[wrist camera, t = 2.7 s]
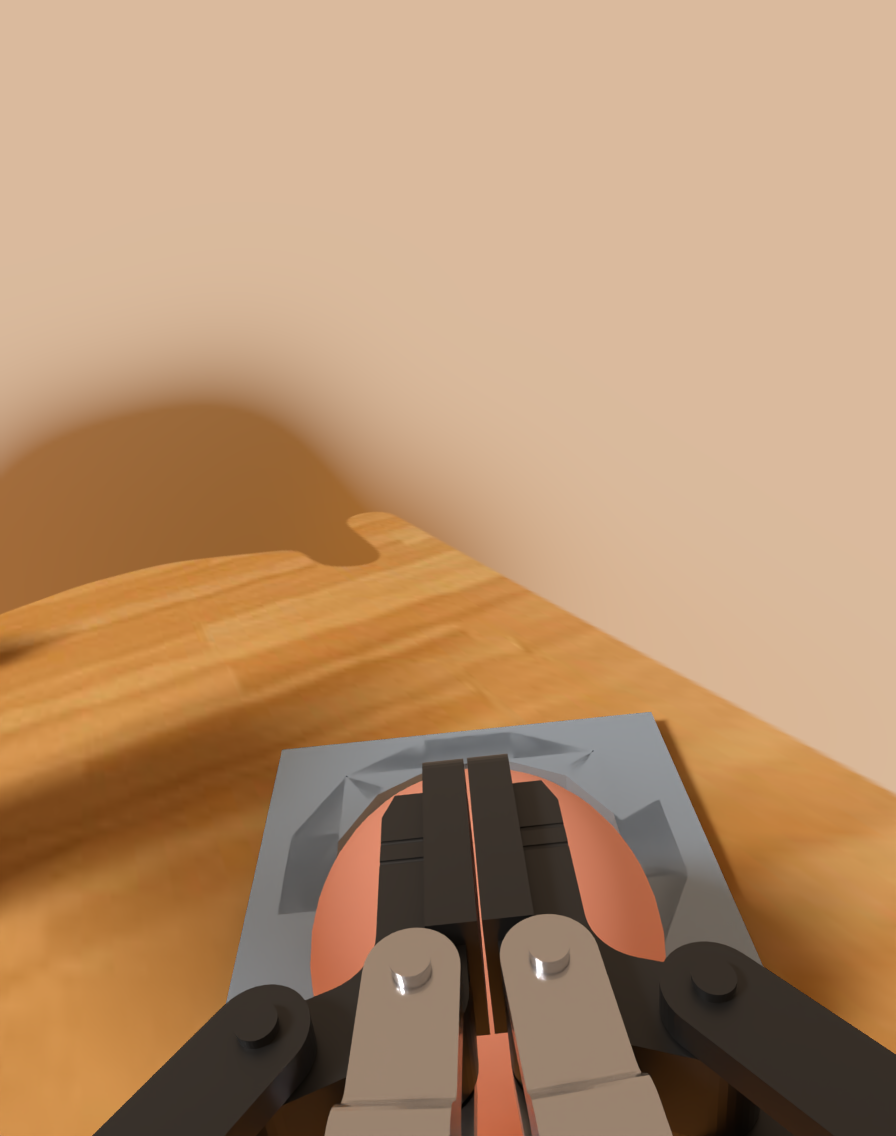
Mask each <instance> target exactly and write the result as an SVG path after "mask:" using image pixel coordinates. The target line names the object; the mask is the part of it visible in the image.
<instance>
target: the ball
mask: <svg viewBox="0 0 896 1136" xmlns="http://www.w3.org/2000/svg"><path fill="white" fill-rule="evenodd" d="M510 771H511V777H512V783H518V782H528V781H537V780H542V782H543V783H544V784H545V785H546V786H547V787H548V788H549V789H550V791H551V792H552V793H553V794H554V795H555V796H556V797H557V798H558V801H559V805H560V810H561V814H562V818H563V823H564V827H565V831H566V835H567V840H568V846H569V848H570V853H571V857H572V861H573V865H574V870H575V874H576V878H577V883H578V887H579V891H580V895H581V900H582V904H583V908H584V913H585V916H586V919H587V922H588V924H589V926H590V928H591V929H592V930H593V932H594V933H595V934H596V936H598V937H599V938H600V939H601V940H602V941H603V942H604V943H606V944H607V945H608V946H610V947H612V948H613V949H615V950H617V951H619V952H622V953H624V954H627V955H630V956H634V957H639V958H644V959H650V960H655V961H660V962H664V961H665V959H666V953H665V941H664V931H663V927H662V923H661V919H660V915H659V911H658V907H657V903H656V899H655V896H654V894H653V891H652V889H651V887H650V884H649V882H648V879H647V877H646V875H645V873H644V871H643V869H642V867H641V865H640V863H639V861H638V860H637V858H636V857H635V855H634V853H633V852H632V850H631V849H630V847H629V846H628V845H627V843H626V842H625V840H624V839H623V838H622V836H621V835H620V834H619V833H618V832H617V830H616V829H615V828H614V827H613V826H612V825H611V824H610V823H609V822H608V821H607V820H606V819H605V818H604V817H603V816H602V815H601V814H600V813H598V812H597V811H596V810H595V809H594V808H593V807H592V806H591V805H590V804H588V803H587V802H585V801H584V800H583V799H581V798H580V797H578V796H577V795H575V794H573V793H572V792H570V791H568V790H566V789H564V788H563V787H561V786H559V785H557V784H555V783H553V782H551V781H548V780H546V779H544V778H541V777H538V776H534V775H531V774H528V773H523V772H518V771H513V770H510ZM465 777H466V786H467V795H468V803H469V812H470V821H471V830H472V839H473V848H474V859H475V869H476V880H477V892H478V903H479V914H480V925H481V936H482V947H483V958H484V969H485V980H486V991H487V1003H488V1014H489V1025H490V1035H482V1036H477V1049H478V1062H479V1073H478V1078H477V1092H478V1099H477V1136H523V1134H522V1129H521V1124H520V1118H519V1113H518V1108H517V1102H516V1097H515V1092H514V1085H513V1075H512V1066H511V1058H510V1049H509V1040H508V1033H499V1034H495V1031H494V1022H493V1013H492V1005H491V996H490V988H489V979H488V970H487V962H486V953H485V944H484V936H483V927H482V918H481V907H480V896H479V885H478V875H477V864H476V853H475V842H474V831H473V821H472V810H471V799H470V788H469V777H468V769H465ZM416 793H423V791H422V781H420V782H418V783H416V784H413V785H411V786H409V787H408V788H406V789H404V790H402V791H400V792H398V793H397V794H395V795H394V796H397V795H407V794H416ZM394 796H393V797H391V798H390V799H388V800H387V801H385V802H384V803H383V804H382V805H381V806H380V807H378V808H377V809H376V810H375V811H374V812H373V813H372V814H370V815H369V816H368V817H367V818H366V819H365V820H364V821H363V822H362V824H361V825H360V826H359V827H358V828H357V829H356V830H355V832H354V833H353V834H352V836H351V837H350V839H349V840H348V841H347V843H346V844H345V846H344V847H343V848H342V850H341V851H340V853H339V854H338V856H337V858H336V860H335V862H334V864H333V866H332V867H331V870H330V872H329V874H328V877H327V879H326V881H325V884H324V886H323V889H322V892H321V895H320V897H319V901H318V906H317V910H316V914H315V919H314V924H313V929H312V941H311V962H310V970H311V979H312V988H313V995H314V996H317V995H319V994H322V993H324V992H327V991H329V990H331V989H334V988H336V987H338V986H340V985H342V984H343V983H345V982H346V981H348V980H350V979H351V978H352V977H353V976H354V975H356V974H357V973H358V972H359V971H360V970H361V969H362V967H363V966H364V962H365V960H366V958H367V956H368V954H369V953H370V951H371V950H372V948H373V947H374V945H375V940H376V925H377V904H378V884H379V866H380V846H381V822H382V817H383V815H384V813H385V811H386V810H387V808H388V806H389V805H390V803H391V801H392V800H393V798H394Z"/></svg>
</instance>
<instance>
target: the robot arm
mask: <svg viewBox="0 0 896 1136" xmlns="http://www.w3.org/2000/svg"><path fill="white" fill-rule="evenodd" d="M467 766H468V777H469V788H470V799H471V810H472V821H473V831H474V842H475V853H476V864H477V875H478V885H479V896H480V907H481V918H482V927H483V936H484V944H485V953H486V962H487V970H488V979H489V988H490V996H491V1005H492V1013H493V1022H494V1031H495V1034H499V1033H508V1040H509V1049H510V1058H511V1066H512V1075H513V1085H514V1092H515V1097H516V1102H517V1108H518V1113H519V1118H520V1124H521V1129H522V1134H523V1136H896V1054H894V1053H893V1052H891V1051H890V1050H888V1049H887V1048H885V1047H884V1046H882V1045H881V1044H879V1043H878V1042H876V1041H875V1040H873V1039H872V1038H870V1037H869V1036H867V1035H866V1034H864V1033H863V1032H861V1031H860V1030H858V1029H857V1028H855V1027H854V1026H852V1025H851V1024H849V1023H847V1022H846V1021H844V1020H843V1019H841V1018H840V1017H838V1016H837V1015H835V1014H834V1013H832V1012H831V1011H829V1010H828V1009H826V1008H825V1007H823V1006H822V1005H820V1004H819V1003H817V1002H816V1001H814V1000H813V999H811V998H810V997H808V996H807V995H805V994H804V993H802V992H801V991H799V990H798V989H796V988H795V987H793V986H792V985H790V984H789V983H787V982H786V981H784V980H783V979H781V978H780V977H778V976H777V975H775V974H774V973H772V972H771V971H769V970H768V969H766V968H765V967H763V966H762V965H760V964H758V963H757V962H755V961H754V960H752V959H751V958H749V957H748V956H746V955H745V954H743V953H742V952H740V951H738V950H736V949H735V948H732V947H730V946H727V945H724V944H720V943H716V942H708V941H699V942H693V943H688V944H685V945H682V946H681V947H679V948H677V949H675V950H674V951H673V952H671V953H670V954H669V955H668V956H667V958H666V959H665V961H664V962H660V961H655V960H650V959H644V958H639V957H634V956H630V955H627V954H624V953H622V952H619V951H617V950H615V949H613V948H612V947H610V946H608V945H607V944H606V943H604V942H603V941H602V940H601V939H600V938H599V937H598V936H596V934H595V933H594V932H593V930H592V929H591V928H590V926H589V924H588V922H587V919H586V916H585V913H584V908H583V904H582V900H581V895H580V891H579V887H578V883H577V878H576V874H575V870H574V865H573V861H572V857H571V853H570V848H569V846H568V840H567V835H566V831H565V827H564V823H563V818H562V814H561V810H560V805H559V801H558V798H557V797H556V796H555V795H554V794H553V793H552V792H551V791H550V789H549V788H548V787H547V786H546V785H545V784H544V783H543V782H542V780H537V781H528V782H518V783H512V777H511V771H510V765H509V759H508V754H498V755H488V756H479V757H470V758H467ZM422 791H423V793H416V794H407V795H397V796H394V798H393V800H392V801H391V803H390V805H389V806H388V808H387V810H386V811H385V813H384V815H383V817H382V822H381V846H380V866H379V884H378V904H377V925H376V940H375V945H374V947H373V948H372V950H371V951H370V953H369V954H368V956H367V958H366V960H365V962H364V966H363V967H362V969H361V970H360V971H359V972H358V973H357V974H356V975H354V976H353V977H352V978H351V979H350V980H348V981H346V982H345V983H343V984H342V985H340V986H338V987H336V988H334V989H331V990H329V991H327V992H324V993H322V994H319V995H317V996H314V997H312V998H310V999H307V1000H304V998H303V997H302V996H301V995H300V994H299V993H298V992H296V991H295V990H293V989H291V988H289V987H286V986H283V985H276V984H269V985H261V986H256V987H253V988H250V989H248V990H246V991H244V992H242V993H240V994H238V995H237V996H235V997H234V998H232V999H231V1000H230V1001H228V1002H227V1003H226V1004H225V1005H224V1006H223V1007H222V1008H221V1009H220V1010H219V1011H218V1012H217V1013H216V1014H215V1015H214V1016H213V1017H212V1018H211V1019H210V1020H209V1021H208V1022H207V1023H206V1024H205V1025H204V1026H203V1027H202V1028H201V1029H200V1030H199V1031H198V1032H197V1033H196V1034H195V1035H194V1036H193V1037H192V1038H191V1039H190V1040H188V1041H187V1042H186V1043H185V1044H184V1045H183V1046H182V1047H181V1048H180V1049H179V1050H178V1051H177V1052H176V1053H175V1054H174V1055H173V1056H172V1057H171V1058H170V1059H169V1060H168V1061H167V1062H166V1063H165V1064H164V1065H163V1066H162V1067H161V1068H160V1069H159V1070H158V1071H157V1072H156V1073H155V1074H154V1075H153V1076H152V1077H151V1078H150V1079H149V1080H148V1081H147V1082H146V1083H145V1084H144V1085H143V1086H142V1087H141V1088H140V1089H139V1090H138V1091H137V1092H136V1093H135V1094H134V1095H133V1096H132V1097H131V1098H130V1099H129V1100H128V1101H127V1102H126V1103H125V1104H124V1105H123V1106H122V1107H121V1108H120V1109H119V1110H118V1111H117V1112H116V1113H115V1114H114V1115H113V1116H112V1117H111V1118H110V1119H109V1120H108V1121H107V1122H106V1123H105V1124H104V1125H103V1126H102V1127H101V1128H100V1129H99V1130H98V1131H97V1132H96V1133H95V1134H94V1135H93V1136H477V1099H478V1092H477V1078H478V1073H479V1062H478V1049H477V1036H482V1035H490V1025H489V1014H488V1003H487V991H486V980H485V969H484V958H483V947H482V936H481V925H480V914H479V903H478V892H477V880H476V869H475V859H474V848H473V839H472V830H471V821H470V812H469V803H468V795H467V786H466V777H465V769H464V761H463V758H462V759H452V760H443V761H434V762H424V763H422Z"/></svg>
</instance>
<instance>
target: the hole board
mask: <svg viewBox="0 0 896 1136" xmlns="http://www.w3.org/2000/svg"><path fill="white" fill-rule="evenodd" d="M498 754H508V759H509V765H510V770H513V771H518V772H523V773H528V774H531V775H534V776H538V777H541V778H544V779H546V780H548V781H551V782H553V783H555V784H557V785H559V786H561V787H563V788H564V789H566V790H568V791H570V792H572V793H573V794H575V795H577V796H578V797H580V798H581V799H583V800H584V801H585V802H587V803H588V804H590V805H591V806H592V807H593V808H594V809H595V810H596V811H597V812H598V813H600V814H601V815H602V816H603V817H604V818H605V819H606V820H607V821H608V822H609V823H610V824H611V825H612V826H613V827H614V828H615V829H616V830H617V832H618V833H619V834H620V835H621V836H622V838H623V839H624V840H625V842H626V843H627V845H628V846H629V847H630V849H631V850H632V852H633V853H634V855H635V857H636V858H637V860H638V861H639V863H640V865H641V867H642V869H643V871H644V873H645V875H646V877H647V879H648V882H649V884H650V887H651V889H652V891H653V894H654V896H655V899H656V903H657V907H658V911H659V915H660V919H661V923H662V927H663V931H664V941H665V953H666V958H667V956H668V955H669V954H670V953H671V952H673V951H674V950H675V949H677V948H679V947H681V946H682V945H685V944H688V943H693V942H699V941H708V942H716V943H720V944H724V945H727V946H730V947H732V948H735V949H736V950H738V951H740V952H742V953H743V954H745V955H746V956H748V957H749V958H751V959H752V960H754V961H755V962H757V963H758V964H760V965H762V962H761V960H760V958H759V956H758V953H757V951H756V949H755V947H754V944H753V942H752V940H751V938H750V935H749V933H748V931H747V928H746V926H745V924H744V922H743V919H742V917H741V915H740V913H739V910H738V908H737V906H736V904H735V901H734V899H733V897H732V894H731V892H730V890H729V888H728V885H727V883H726V881H725V879H724V876H723V874H722V872H721V870H720V867H719V865H718V863H717V860H716V858H715V856H714V854H713V851H712V849H711V847H710V845H709V842H708V840H707V838H706V835H705V833H704V831H703V829H702V826H701V824H700V822H699V820H698V817H697V815H696V813H695V811H694V808H693V806H692V804H691V801H690V799H689V797H688V795H687V792H686V790H685V788H684V786H683V783H682V781H681V779H680V777H679V774H678V772H677V770H676V767H675V765H674V763H673V761H672V758H671V756H670V754H669V752H668V749H667V747H666V745H665V743H664V740H663V738H662V736H661V733H660V731H659V729H658V727H657V724H656V722H655V720H654V718H653V715H652V713H651V712H646V713H636V714H627V715H617V716H607V717H597V718H588V719H578V720H568V721H558V722H549V723H539V724H529V725H519V726H510V727H500V728H490V729H480V730H471V731H461V732H451V733H441V734H432V735H422V736H412V737H402V738H392V739H383V740H373V741H363V742H353V743H344V744H334V745H324V746H314V747H305V748H295V749H285V750H282V753H281V757H280V762H279V766H278V771H277V775H276V780H275V784H274V789H273V793H272V798H271V802H270V807H269V811H268V816H267V820H266V825H265V830H264V834H263V839H262V843H261V848H260V852H259V857H258V861H257V866H256V870H255V875H254V879H253V884H252V888H251V893H250V897H249V902H248V906H247V911H246V916H245V920H244V925H243V929H242V934H241V938H240V943H239V947H238V952H237V956H236V961H235V965H234V970H233V974H232V979H231V983H230V988H229V992H228V997H227V1002H228V1001H230V1000H231V999H232V998H234V997H235V996H237V995H238V994H240V993H242V992H244V991H246V990H248V989H250V988H253V987H256V986H261V985H269V984H276V985H283V986H286V987H289V988H291V989H293V990H295V991H296V992H298V993H299V994H300V995H301V996H302V997H303V998H304V1000H307V999H310V998H312V997H314V995H313V988H312V979H311V970H310V962H311V941H312V929H313V924H314V919H315V914H316V910H317V906H318V901H319V897H320V895H321V892H322V889H323V886H324V884H325V881H326V879H327V877H328V874H329V872H330V870H331V867H332V866H333V864H334V862H335V860H336V858H337V856H338V854H339V853H340V851H341V850H342V848H343V847H344V846H345V844H346V843H347V841H348V840H349V839H350V837H351V836H352V834H353V833H354V832H355V830H356V829H357V828H358V827H359V826H360V825H361V824H362V822H363V821H364V820H365V819H366V818H367V817H368V816H369V815H370V814H372V813H373V812H374V811H375V810H376V809H377V808H378V807H380V806H381V805H382V804H383V803H384V802H385V801H387V800H388V799H390V798H391V797H393V796H394V795H395V794H397V793H398V792H400V791H402V790H404V789H406V788H408V787H409V786H411V785H413V784H416V783H418V782H420V781H422V763H424V762H434V761H443V760H452V759H462V758H463V761H464V769H468V766H467V758H470V757H479V756H488V755H498ZM762 966H763V965H762ZM227 1002H226V1003H227Z"/></svg>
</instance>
